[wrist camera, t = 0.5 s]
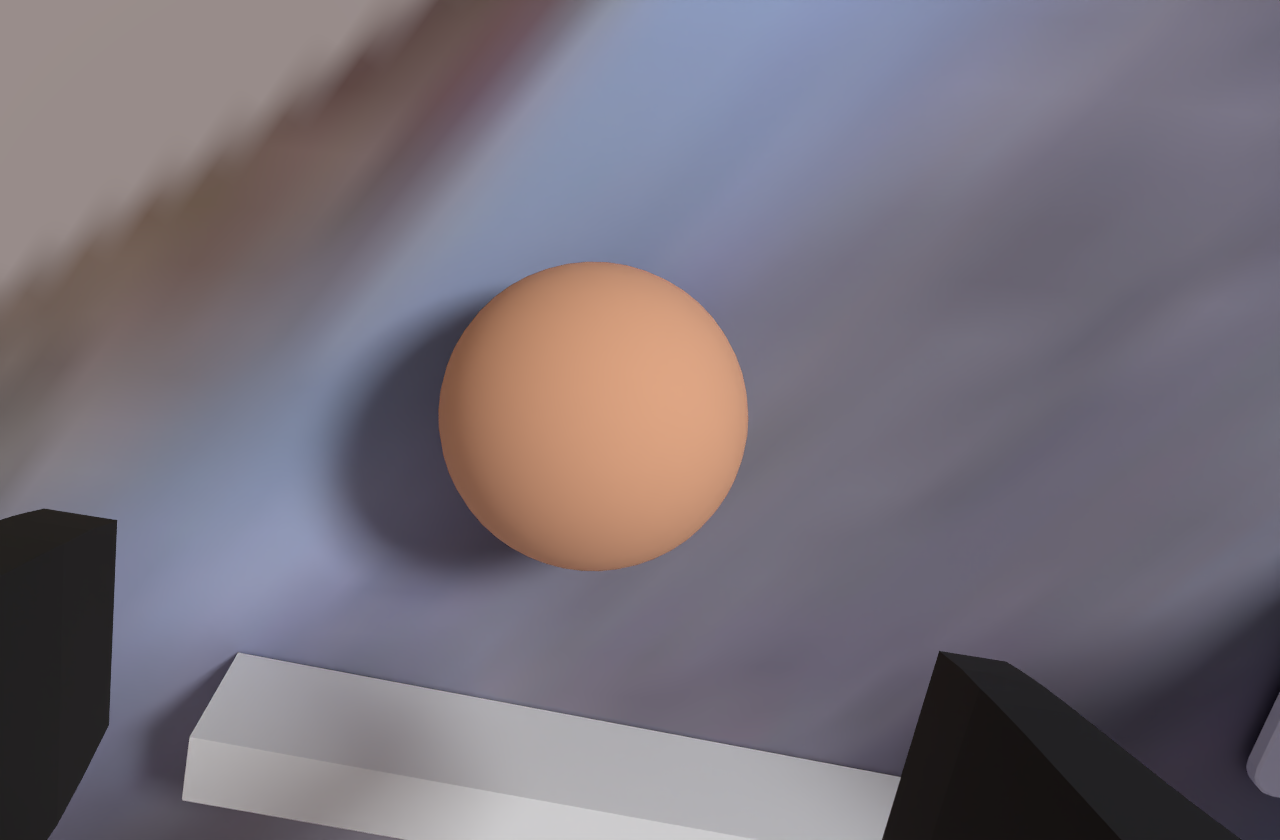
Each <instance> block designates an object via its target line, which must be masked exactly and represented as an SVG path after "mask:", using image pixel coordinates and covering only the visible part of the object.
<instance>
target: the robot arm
mask: <svg viewBox="0 0 1280 840" xmlns="http://www.w3.org/2000/svg"><path fill="white" fill-rule="evenodd" d="M116 534H117V520H112V519H106V518H100V517H93V516H87V515H81V514H74V513H68V512H62V511H56V510H49V509H41V510H36V511H32V512H27V513H23V514H19V515H16V516H12V517H9V518H5V519H2V520H0V840H47V839H48V837H49V836H50V835H51V833H52V832H53V830H54V829H55V827H56V826H57V824H58V822H59V820H60V818H61V817H62V815H63V813H64V811H65V809H66V807H67V805H68V804H69V802H70V800H71V798H72V796H73V794H74V793H75V791H76V789H77V787H78V785H79V783H80V781H81V780H82V778H83V776H84V774H85V772H86V770H87V768H88V766H89V764H90V762H91V760H92V758H93V756H94V754H95V752H96V750H97V748H98V746H99V744H100V742H101V740H102V738H103V736H104V734H105V732H106V730H107V728H108V726H109V708H110V683H111V658H112V633H113V609H114V584H115V559H116ZM1246 769H1247V773H1248V776H1249V777H1250V779H1251V780H1252V781H1253V782H1254V784H1255V785H1256V786H1257V787H1258V788H1259V789H1260V791H1261V792H1262V793H1265V794H1267V795H1270V796H1273V797H1278V798H1280V692H1279V695H1278V697H1277V699H1276V701H1275V703H1274V705H1273V707H1272V709H1271V711H1270V714H1269V716H1268V718H1267V720H1266V722H1265V724H1264V726H1263V728H1262V730H1261V733H1260V735H1259V737H1258V739H1257V741H1256V743H1255V745H1254V747H1253V750H1252V752H1251V754H1250V756H1249V758H1248V762H1247V766H1246ZM882 840H1241V839H1240V838H1238V837H1237V836H1236V835H1234V834H1233V833H1231V832H1230V831H1229V830H1227V829H1226V828H1225V827H1223V826H1222V825H1221V824H1219V823H1218V822H1217V821H1215V820H1214V819H1213V818H1211V817H1210V816H1209V815H1207V814H1206V813H1205V812H1203V811H1202V810H1201V809H1199V808H1198V807H1197V806H1195V805H1194V804H1193V803H1192V802H1190V801H1189V800H1188V799H1186V798H1185V797H1184V796H1182V795H1181V794H1180V793H1179V792H1177V791H1176V790H1175V789H1173V788H1172V787H1171V786H1170V785H1168V784H1167V783H1166V782H1164V781H1163V780H1162V779H1161V778H1159V777H1158V776H1157V775H1156V774H1154V773H1153V772H1152V771H1150V770H1149V769H1148V768H1147V767H1145V766H1144V765H1143V764H1142V763H1140V762H1139V761H1138V760H1137V759H1135V758H1134V757H1133V756H1131V755H1130V754H1129V753H1128V752H1126V751H1125V750H1124V749H1123V748H1121V747H1120V746H1119V745H1118V744H1116V743H1115V742H1114V741H1113V740H1111V739H1110V738H1109V737H1108V736H1106V735H1105V734H1104V733H1103V732H1101V731H1100V730H1099V729H1098V728H1096V727H1095V726H1094V725H1092V724H1091V723H1090V722H1089V721H1087V720H1086V719H1085V718H1084V717H1082V716H1081V715H1080V714H1079V713H1077V712H1076V711H1075V710H1073V709H1072V708H1071V707H1070V706H1068V705H1067V704H1066V703H1064V702H1063V701H1062V700H1061V699H1059V698H1058V697H1057V696H1055V695H1054V694H1053V693H1051V692H1050V691H1049V690H1047V689H1046V688H1045V687H1043V686H1042V685H1041V684H1039V683H1038V682H1036V681H1035V680H1034V679H1032V678H1031V677H1029V676H1028V675H1026V674H1025V673H1023V672H1022V671H1020V670H1019V669H1017V668H1015V667H1014V666H1012V665H1011V664H1009V663H1007V662H1004V661H998V660H992V659H986V658H979V657H973V656H967V655H960V654H954V653H948V652H942V651H939V654H938V657H937V660H936V664H935V667H934V670H933V673H932V677H931V680H930V683H929V687H928V690H927V693H926V696H925V700H924V703H923V706H922V710H921V713H920V716H919V719H918V723H917V726H916V729H915V733H914V736H913V739H912V742H911V746H910V749H909V752H908V756H907V759H906V762H905V765H904V769H903V772H902V775H901V779H900V782H899V785H898V788H897V792H896V795H895V798H894V802H893V805H892V808H891V811H890V815H889V818H888V821H887V825H886V828H885V831H884V834H883V838H882Z"/></svg>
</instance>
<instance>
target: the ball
mask: <svg viewBox="0 0 1280 840" xmlns="http://www.w3.org/2000/svg"><path fill="white" fill-rule="evenodd" d="M438 412H439V432H440V438H441V444H442V450H443V455H444V459H445V462H446V465H447V468H448V471H449V474H450V476H451V478H452V480H453V482H454V485H455V487H456V489H457V491H458V492H459V494H460V495H461V497H462V498H463V500H464V501H465V503H466V505H467V506H468V508H469V509H470V511H471V512H472V513H473V514H474V515H475V516H476V518H477V519H478V520H479V521H480V522H481V524H482V525H483V526H485V527H486V528H487V529H488V530H489V531H490V532H491V533H492V534H493V535H494V536H495V537H497V538H498V539H500V540H501V541H502V542H504V543H505V544H507V545H508V546H510V547H511V548H513V549H515V550H517V551H518V552H520V553H522V554H524V555H526V556H528V557H530V558H533V559H535V560H538V561H541V562H543V563H546V564H549V565H553V566H557V567H561V568H566V569H573V570H580V571H604V570H614V569H620V568H625V567H629V566H634V565H638V564H641V563H643V562H646V561H649V560H652V559H655V558H657V557H659V556H661V555H663V554H665V553H667V552H669V551H671V550H672V549H674V548H675V547H677V546H678V545H680V544H682V543H683V542H685V541H686V540H687V539H688V538H690V537H691V536H692V535H693V534H694V533H695V532H697V531H698V530H699V529H700V528H701V527H702V526H703V525H704V524H705V523H706V521H707V520H708V519H709V518H710V517H711V516H712V515H713V514H714V512H715V511H716V510H717V509H718V507H719V506H720V504H721V503H722V501H723V500H724V498H725V497H726V496H727V494H728V492H729V490H730V488H731V486H732V484H733V482H734V480H735V478H736V475H737V472H738V469H739V466H740V464H741V461H742V457H743V453H744V449H745V444H746V439H747V429H748V408H747V395H746V389H745V384H744V380H743V375H742V371H741V369H740V366H739V363H738V360H737V358H736V355H735V353H734V351H733V349H732V347H731V346H730V344H729V342H728V340H727V338H726V336H725V335H724V333H723V331H722V330H721V329H720V327H719V326H718V324H717V323H716V322H715V320H714V319H713V318H712V316H711V315H710V314H709V313H708V312H707V311H706V310H705V309H704V308H703V307H702V306H701V305H700V304H699V303H698V302H697V301H696V300H695V299H693V298H692V297H691V296H690V295H688V294H687V293H686V292H685V291H683V290H682V289H680V288H679V287H677V286H675V285H674V284H672V283H670V282H669V281H667V280H665V279H663V278H661V277H658V276H656V275H654V274H651V273H649V272H647V271H644V270H641V269H637V268H634V267H631V266H627V265H621V264H615V263H608V262H581V263H571V264H565V265H561V266H557V267H553V268H549V269H545V270H543V271H540V272H538V273H535V274H532V275H530V276H527V277H525V278H524V279H522V280H520V281H518V282H516V283H514V284H512V285H511V286H509V287H508V288H506V289H505V290H504V291H502V292H501V293H500V294H498V295H497V296H495V297H494V298H493V299H492V300H491V301H490V302H489V303H488V304H487V305H486V306H485V307H484V308H483V309H482V310H480V312H479V313H478V314H477V315H476V317H475V318H474V319H473V320H472V322H471V323H470V324H469V325H468V327H467V328H466V329H465V331H464V332H463V334H462V336H461V337H460V339H459V341H458V342H457V344H456V346H455V348H454V350H453V352H452V355H451V357H450V360H449V362H448V364H447V367H446V371H445V375H444V379H443V383H442V387H441V392H440V401H439V410H438Z"/></svg>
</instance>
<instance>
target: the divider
mask: <svg viewBox="0 0 1280 840" xmlns="http://www.w3.org/2000/svg"><path fill="white" fill-rule="evenodd" d="M900 779H901V777H897V776H892V775H887V774H881V773H876V772H871V771H865V770H860V769H855V768H849V767H844V766H839V765H833V764H828V763H823V762H817V761H812V760H807V759H802V758H796V757H791V756H786V755H780V754H775V753H770V752H764V751H759V750H754V749H748V748H743V747H738V746H732V745H727V744H722V743H716V742H711V741H706V740H700V739H695V738H690V737H684V736H679V735H674V734H669V733H663V732H658V731H653V730H647V729H642V728H637V727H631V726H626V725H621V724H615V723H610V722H605V721H599V720H594V719H589V718H583V717H578V716H573V715H567V714H562V713H557V712H551V711H546V710H541V709H536V708H530V707H525V706H520V705H514V704H509V703H504V702H498V701H493V700H488V699H482V698H477V697H472V696H466V695H461V694H456V693H450V692H445V691H440V690H434V689H429V688H424V687H418V686H413V685H408V684H403V683H397V682H392V681H387V680H381V679H376V678H371V677H365V676H360V675H355V674H349V673H344V672H339V671H333V670H328V669H323V668H317V667H312V666H307V665H301V664H296V663H291V662H285V661H280V660H275V659H270V658H264V657H259V656H254V655H248V654H243V653H238V654H237V655H236V657H235V659H234V661H233V662H232V664H231V666H230V668H229V669H228V671H227V673H226V675H225V676H224V678H223V680H222V681H221V683H220V685H219V687H218V688H217V690H216V692H215V694H214V695H213V697H212V699H211V701H210V702H209V704H208V706H207V708H206V709H205V711H204V713H203V715H202V716H201V718H200V720H199V721H198V723H197V725H196V727H195V728H194V730H193V732H192V734H191V735H190V738H189V746H188V754H187V762H186V770H185V779H184V787H183V795H182V800H184V801H189V802H195V803H201V804H206V805H212V806H218V807H223V808H229V809H235V810H240V811H246V812H252V813H257V814H263V815H269V816H274V817H280V818H286V819H291V820H297V821H303V822H308V823H314V824H320V825H325V826H331V827H337V828H342V829H348V830H354V831H359V832H365V833H371V834H376V835H382V836H388V837H394V838H399V839H405V840H882V838H883V834H884V831H885V828H886V825H887V821H888V818H889V815H890V811H891V808H892V805H893V802H894V798H895V795H896V792H897V788H898V785H899V782H900Z"/></svg>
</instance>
